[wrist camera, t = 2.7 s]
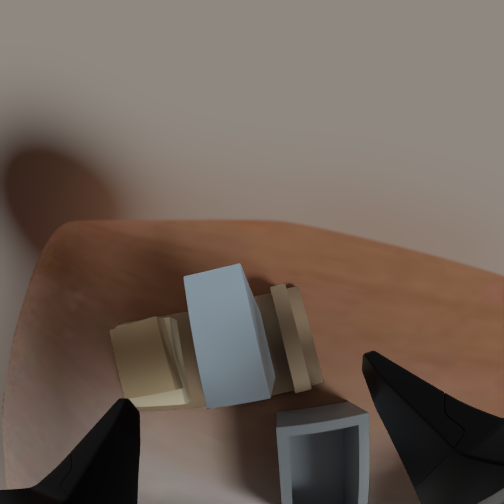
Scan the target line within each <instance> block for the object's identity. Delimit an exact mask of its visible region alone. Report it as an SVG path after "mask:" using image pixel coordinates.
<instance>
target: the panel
mask: <svg viewBox="0 0 504 504" xmlns="http://www.w3.org/2000/svg"><path fill="white" fill-rule="evenodd" d="M184 285H185V292H186V299H187V306H188V312H189V318H190V325H191V331H192V336H193V342H194V348H195V353H196V358H197V363H198V368H199V373H200V378H201V383H202V388H203V392H204V397H205V401H206V406H207V409H210V408H217V407H225V406H231V405H238V404H244V403H249V402H255V401H260V400H265V399H270V398H271V394H272V390H273V385H274V381H275V373H274V369H273V364H272V360H271V356H270V351H269V347H268V343H267V338H266V334H265V330H264V325H263V321H262V317H261V313H260V310H259V308H258V306H257V303H256V301H255V298H254V296H253V293H252V291H251V289H250V286H249V284H248V281H247V279H246V276H245V274H244V271H243V269H242V267H241V264H240V263H239V264H235V265H230V266H226V267H222V268H218V269H213V270H209V271H205V272H201V273H196V274H192V275H188V276H184Z"/></svg>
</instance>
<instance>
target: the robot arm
mask: <svg viewBox="0 0 504 504" xmlns="http://www.w3.org/2000/svg"><path fill="white" fill-rule="evenodd" d="M362 372H363V375H364V378H365V380H366V383H367V386H368V388H369V391H370V394H371V397H372V400H373V402H374V405H375V407H376V409H377V412H378V413H379V415H380V417H381V419H382V421H383V423H384V425H385V427H386V429H387V431H388V433H389V435H390V438H391V440H392V442H393V444H394V446H395V448H396V450H397V452H398V454H399V456H400V458H401V460H402V462H403V465H404V467H405V469H406V471H407V473H408V475H409V477H410V480H411V482H412V484H413V486H414V489H415V491H416V493H417V495H418V498H419V500H420V502H421V504H504V418H500V417H497V416H494V415H491V414H489V413H486V412H484V411H481V410H479V409H476V408H474V407H472V406H469V405H467V404H465V403H463V402H461V401H459V400H457V399H455V398H453V397H452V396H450V395H448V394H446V393H445V394H444V392H443V391H441V390H439V389H438V388H436V387H434V386H433V385H431V384H429V383H427V382H426V381H424V380H422V379H421V378H419V377H417V376H416V375H414V374H412V373H411V372H409V371H407V370H406V369H404V368H402V367H401V366H399V365H397V364H396V363H394V362H392V361H391V360H389V359H387V358H386V357H384V356H382V355H381V354H379V353H377V352H376V351H370V352H367V353H365V354H364V355H363V363H362ZM139 456H140V413H139V411H138V409H137V408H136V407H135V405H134V404H133V403H132V402H131V401H130V400H129V399H128V398H121V399H118V400H117V402H116V403H115V404H114V405H113V406H112V407H111V408H110V409H109V410H108V412H107V413H106V414H105V415H104V416H103V417H102V418H101V419H100V420H99V421H98V423H97V424H96V425H95V426H94V427H93V428H92V429H91V430H90V431H89V433H88V434H87V435H86V436H85V437H84V438H83V439H82V440H81V441H80V443H79V444H78V445H77V446H76V447H75V448H74V449H73V450H72V451H71V453H70V454H69V455H68V456H67V457H66V458H65V459H64V460H63V461H62V462H61V463H60V464H59V465H58V466H57V467H56V468H55V469H54V470H53V471H52V472H51V473H50V474H49V475H47V476H46V477H45V478H44V479H43V480H42V481H41V482H40V483H38V484H37V485H35V486H33V487H31V488H25V489H12V490H0V504H137V498H138V472H139Z"/></svg>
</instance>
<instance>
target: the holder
mask: <svg viewBox="0 0 504 504" xmlns="http://www.w3.org/2000/svg"><path fill="white" fill-rule="evenodd" d="M276 433H277V446H278V460H279V473H280V487H281V502H282V504H368V490H369V462H370V440H369V413H368V412H367V411H365V410H363V409H361V408H360V407H358V406H356V405H354V404H353V403H351V402H349V401H347V402H342V403H336V404H331V405H325V406H319V407H312V408H304V409H296V410H287V411H277V420H276Z"/></svg>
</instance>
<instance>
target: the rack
mask: <svg viewBox="0 0 504 504" xmlns="http://www.w3.org/2000/svg"><path fill="white" fill-rule="evenodd" d="M270 291H271V293H267V294H263V295H258V296H254V298H255V301H256V303H257V306H258V308H259V310H260V313H261V317H262V321H263V325H264V330H265V334H266V338H267V343H268V347H269V351H270V356H271V360H272V364H273V369H274V373H275V381H274V385H273V390H272V394H271V396H272V395H277V394H281V393H286V392H290V391H295V393H298V392H302V391H306V390H310V389H311V386H313V385H317V384H320V383H324V382H323V378H322V374H321V370H320V366H319V362H318V358H317V354H316V350H315V346H314V342H313V338H312V334H311V330H310V326H309V322H308V319H307V315H306V311H305V307H304V304H303V300H302V296H301V293H300V289H299V286H295V287H291V288H287V289H286V285H285V283H284V284H280V285H276V286H272V287H270ZM109 332H110V337H111V343H112V348H113V352H114V357H115V362H116V366H117V370H118V374H119V378H120V382H121V386H122V390H123V393H124V397H125V398H128V399H129V400H130V401H131V402H132V403H133V404H134V405H135V407H136V408H137V409H138V411H159V410H175V409H188V408H198V407H207V406H206V401H205V397H204V392H203V388H202V383H201V378H200V373H199V368H198V363H197V358H196V353H195V348H194V342H193V336H192V331H191V325H190V318H189V312H188V311H185V312H180V313H175V314H170V315H165V316H159V317H157V316H154V317H151V318H148V319H143V320H138V321H132V322H126V323H120V324H119V326H116V328H114V329H111V330H109ZM231 406H232V405H231ZM225 407H229V406H225ZM217 408H222V407H217Z"/></svg>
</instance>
